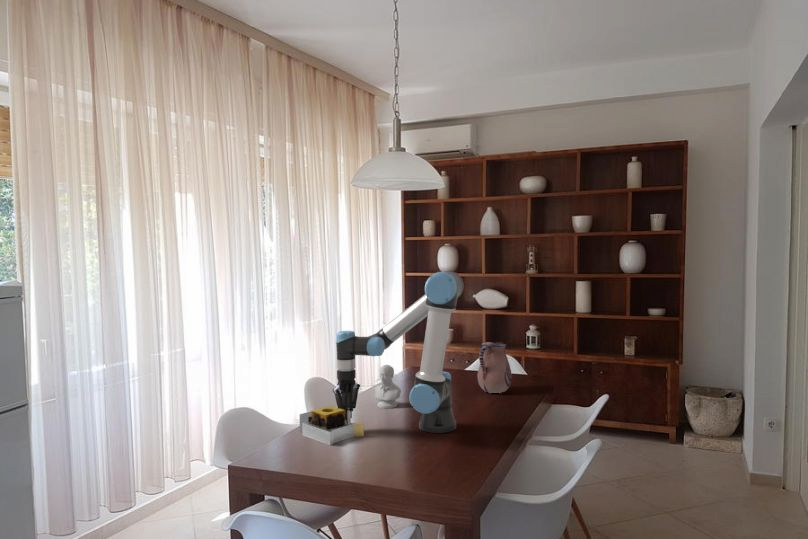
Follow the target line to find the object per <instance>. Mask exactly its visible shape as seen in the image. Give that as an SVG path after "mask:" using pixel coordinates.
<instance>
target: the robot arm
mask: <svg viewBox="0 0 808 539" xmlns="http://www.w3.org/2000/svg"><path fill="white" fill-rule="evenodd" d="M463 291H464V281H463V278H462V277H461V276H460V274H458V273H457V272H454V271H450V270H447V271H438V272H437V271H436V272H435V273H433V274H431V275H430V276H429V277H428V278H427V280H426V281H425V285H424V295H422V296H421V297H420V298H418V300H416V301H415V302H413V304H411V305H410V306H408V307H407V308H406V309H405V310H403V311H402V312H401V313H400V314H399V315H398V316H396V317H395V318H393V319H392V320H391V321H390V322H388V323H387V324H386V325H385V326H383V327H382V328H381V329H379V331H377V332H376V333H374V334H371V335H368V336H357V335H356V333H355V331H354V330H341V331H338V332H336V340H335V344H336V369H337V371H336V378H337V385H336V387H335V388H332V392H333V394H334V397H335V398H334V399H335V402H336V408H340V409H343V410H345V425H346V424H350V423H352V418H353V415H352V414H353V412H354V409H356V407H357V401H358V397H359V396H358V394H359V389H361V388H360V387H361V384H360V383H357V382H356V380H355V379H356V377H357V376H356V356H363V357H364V356H366V357H380V356H382V355H383V354H384V352H385V350H387V349H389V347H390V346H391V345H392V344H393V343H394V342H396V341H397V340H398V339H399V338H401V337H402V336H404V335H405V334H407V332H409V331H410V330H411V329H413V328H414V327H415V326H416V325H418V324H419V323H420V322H422V321H423V320H424V319H426V318H427V320H426V327H425V333H424V341H423V348H422V354H421V361H420V368H419V371H417V372H416V373H415V377H414V383H413V387H412V388H411V390H410V391H409V396H408V398H409V403H410V405H411V406H412V408H413V409H414V410H415V411H417V412H418V413H421V415H420V420H419V422H418V428H419V430H421V431H422V432H427V433H430V434H431V433H432V434H444V433H450V432H453V431H455V430H456V429H457V420H456V418H455V416H454V412H453V408H452V381H453V380H452V374H451V373H450V372H448V371H444V365H445V363H444V362H445V357H446V356H445V355H446V350H447V344H448V337H449V336H448V335H449V331H450V330H449V329H450V322H451V317H452V313H453V312H454V311H456V309H457V308H456V307H457V301H458V298H459V297H460V296H461V295H462V294H463Z"/></svg>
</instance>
